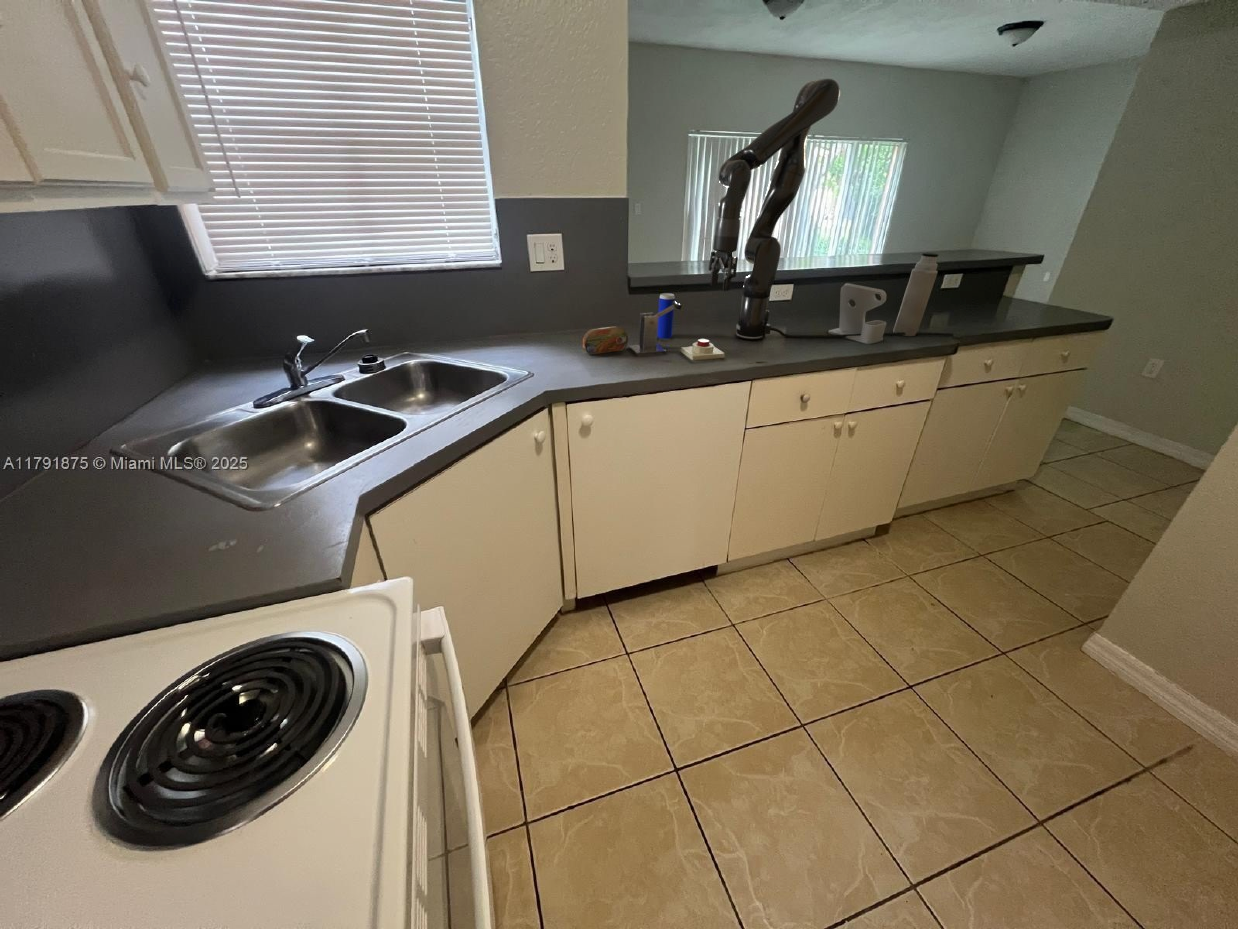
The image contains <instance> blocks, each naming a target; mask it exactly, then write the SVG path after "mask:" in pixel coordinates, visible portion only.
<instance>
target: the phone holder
mask: <svg viewBox="0 0 1238 929" xmlns="http://www.w3.org/2000/svg"><path fill="white" fill-rule="evenodd" d="M876 294H877V295H879V296H880V300H879V299H877V297H876ZM839 297H840V299H839V327H837V328H833V329H829V330H828V334H829V335H845V334H861V335H859V336H846V337H843V338H845V339H848V340H852V341H856V342H858V343H863V344H867V345H871V344H875V343H879V342H882V341H883V340H884V335H883V334H884V333H885V331H886V327H887V322H886V321H885V320H880V319H876V320H875V319H874V320H871V321H867V322H866V313H867V312H869V311H871V310H873V309H876V308H878V307H880V306H882V305H883V304H885V303H886V301H887V293H886V291H885V290H883V289H880V288H876V287H870V286H866V285H859V284H855V283H851V282H850V283H847V282H846V283H845V284H843V285H842V286H841V287H840V296H839ZM851 300H852V301H853V302H854V306H852V305H851V304H850V301H851Z"/></svg>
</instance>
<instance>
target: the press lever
mask: <svg viewBox="0 0 1238 929" xmlns="http://www.w3.org/2000/svg"><path fill="white" fill-rule="evenodd" d="M671 305H672V306H670V307H668V308H666V309H665V310H663V311H661V312H659V311H658V312H657V313H656V314H654V316H659V317H661V316H663V315H664V314H666V313H668V312H670V311H672V310H673V309H674V310H675V309H677V310H682V307H683V306H682V304H680V303H678V302H676V301H675V302H674V301H673V302H672V303H671ZM648 316H652V315H648ZM659 317H658V318H659ZM643 321H644V318H643Z"/></svg>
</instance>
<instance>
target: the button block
mask: <svg viewBox="0 0 1238 929" xmlns="http://www.w3.org/2000/svg"><path fill="white" fill-rule="evenodd" d="M680 353H682V354H683V355H684V356H686V357H687V358H688V359H690V360H691V361H700V360H701V361H702V360H711V359H723V358H726V357H725V356H726V353H725V352H724V351H722V350H720V349H719V348H717V347H716V346H714V344H713V343H712V342H709V346H708V347H701V346H698V341H696V342H693V343H692V346H684V347H683V346H682V347H680Z"/></svg>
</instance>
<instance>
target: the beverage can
mask: <svg viewBox="0 0 1238 929" xmlns="http://www.w3.org/2000/svg"><path fill="white" fill-rule="evenodd" d="M673 301H674V302H676V297H675V294H673V293H669V292H664V293H660V295H659V299H658V313H659V312H661V311H663V310H665V309H666V308H668V307H670V306H672V305H671V303H672V302H673ZM674 315H675V309H673V310H672V311H670V312H668V313H666V314H664V315H663V316H661V317H659V318H658V333H657V338H659V339H663V340H665V339H671V338H673V328H674V326H673V325H674Z"/></svg>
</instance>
